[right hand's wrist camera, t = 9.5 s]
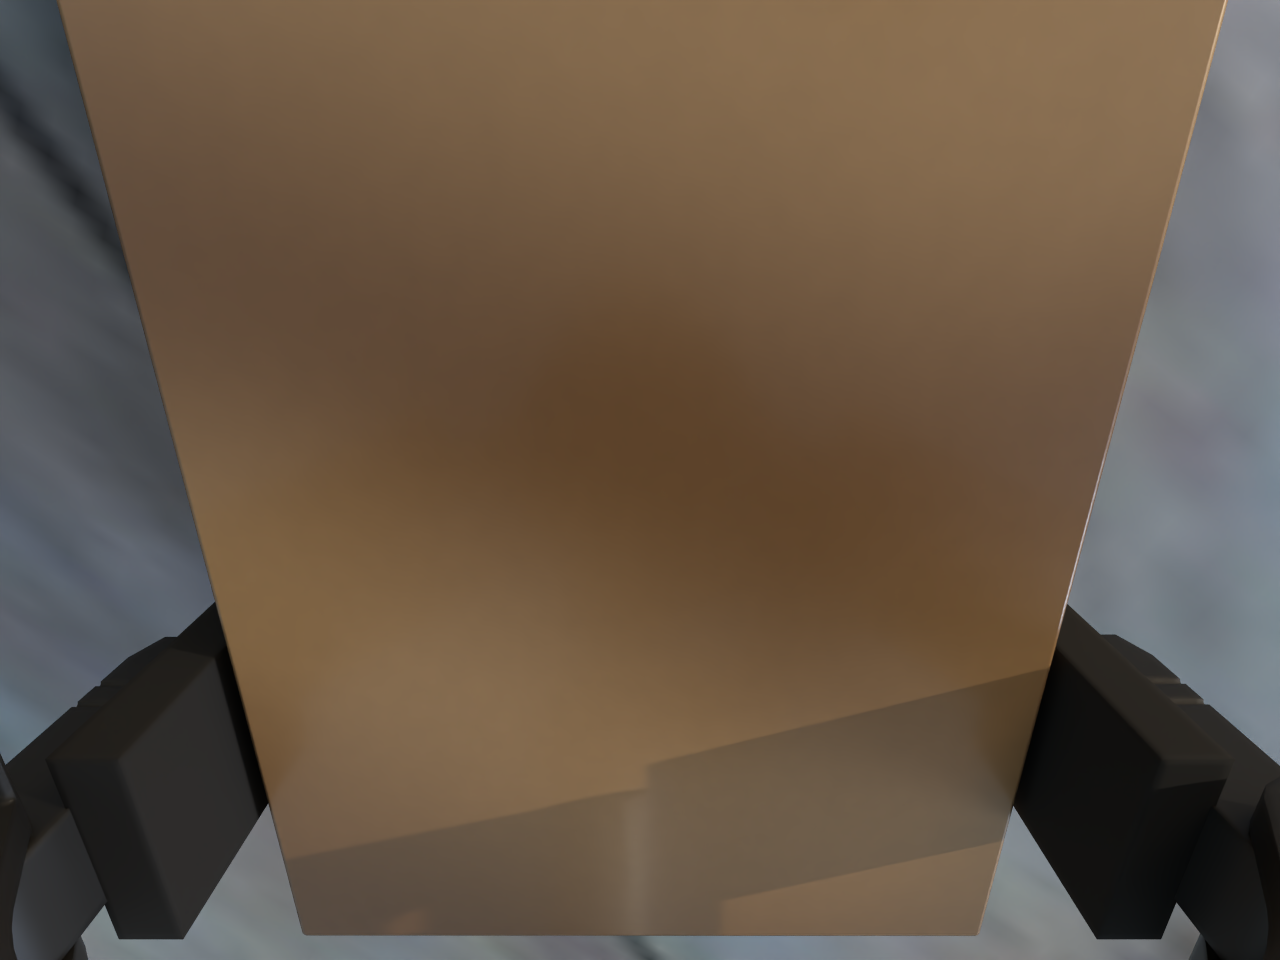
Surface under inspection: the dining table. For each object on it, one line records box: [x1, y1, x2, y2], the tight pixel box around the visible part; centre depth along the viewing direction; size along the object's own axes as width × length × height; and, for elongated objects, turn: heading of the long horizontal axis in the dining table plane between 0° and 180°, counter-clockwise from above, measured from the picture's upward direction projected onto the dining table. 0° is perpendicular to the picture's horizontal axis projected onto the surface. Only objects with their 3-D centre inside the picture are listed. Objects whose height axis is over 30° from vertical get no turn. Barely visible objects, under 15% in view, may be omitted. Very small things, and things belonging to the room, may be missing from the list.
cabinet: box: [57, 0, 1228, 936], centre depth 11 cm, size 18×10×9 cm, turn 0°
